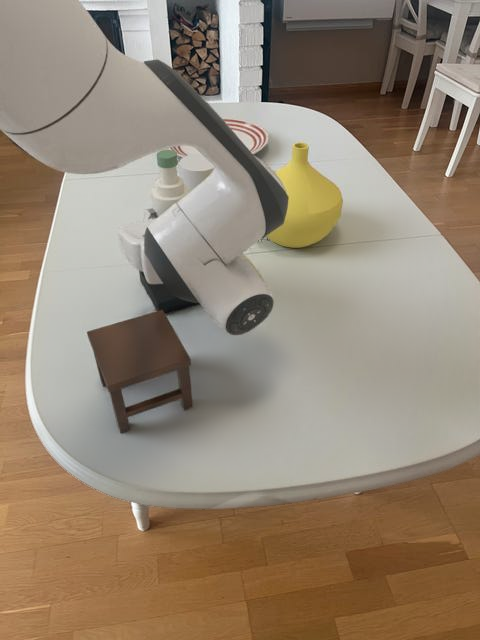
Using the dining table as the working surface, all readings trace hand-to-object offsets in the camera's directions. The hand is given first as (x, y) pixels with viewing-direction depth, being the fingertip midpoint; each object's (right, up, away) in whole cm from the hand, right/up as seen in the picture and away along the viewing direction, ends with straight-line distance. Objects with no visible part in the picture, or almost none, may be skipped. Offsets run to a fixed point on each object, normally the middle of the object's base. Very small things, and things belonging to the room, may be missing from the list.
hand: (169, 208), depth 84 cm
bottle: (0, -7, +5) cm, 9 cm away
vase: (+22, -1, +24) cm, 33 cm away
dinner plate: (+5, +28, +56) cm, 63 cm away
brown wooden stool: (-2, -29, -8) cm, 30 cm away
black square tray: (0, -13, +10) cm, 16 cm away
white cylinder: (+3, +5, +30) cm, 31 cm away
